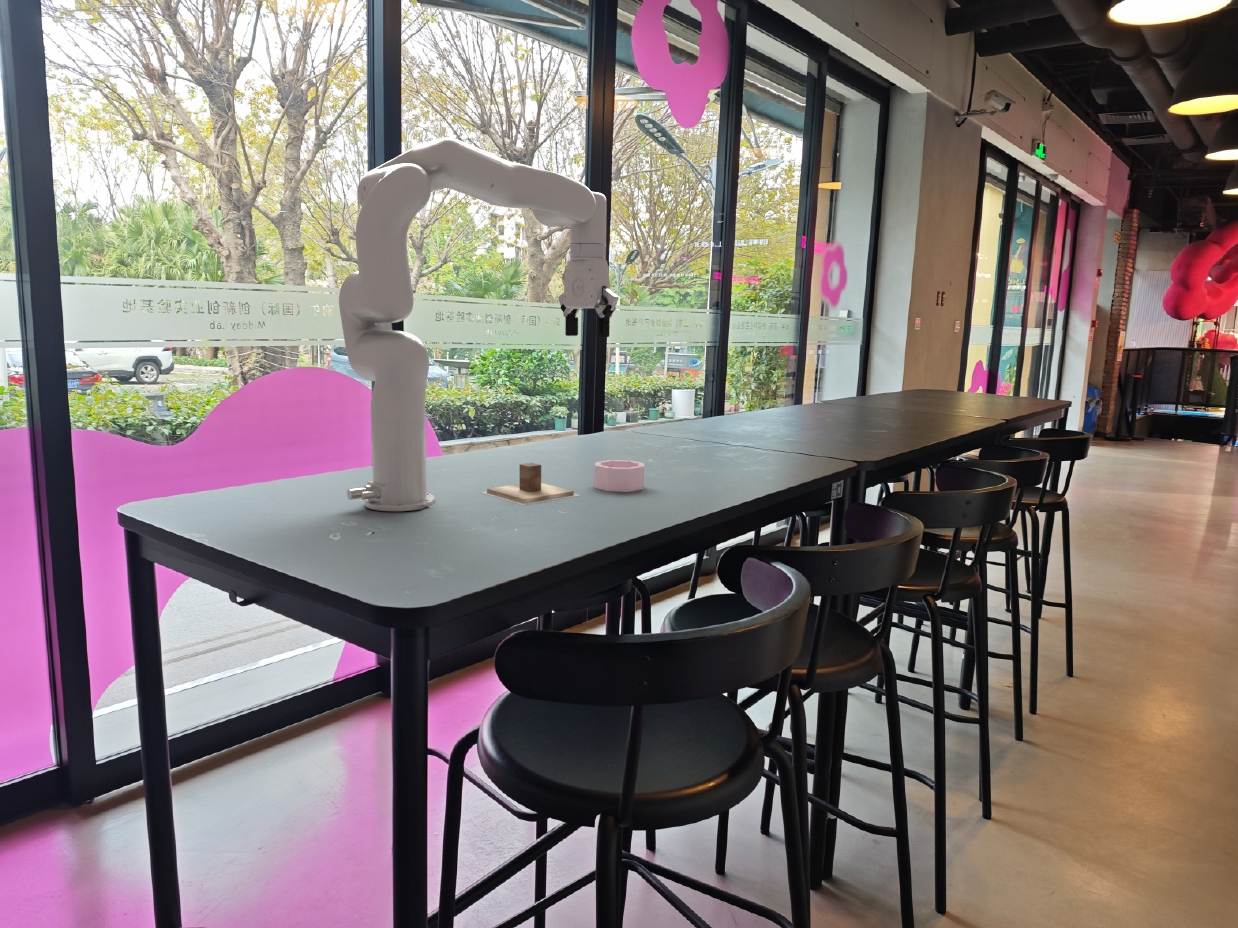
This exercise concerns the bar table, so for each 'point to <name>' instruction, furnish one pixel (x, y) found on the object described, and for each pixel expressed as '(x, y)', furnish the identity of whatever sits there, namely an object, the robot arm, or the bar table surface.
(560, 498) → the mat
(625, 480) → the bowl
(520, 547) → the bar table surface
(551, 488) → the lid
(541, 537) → the bar table surface
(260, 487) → the bar table surface
